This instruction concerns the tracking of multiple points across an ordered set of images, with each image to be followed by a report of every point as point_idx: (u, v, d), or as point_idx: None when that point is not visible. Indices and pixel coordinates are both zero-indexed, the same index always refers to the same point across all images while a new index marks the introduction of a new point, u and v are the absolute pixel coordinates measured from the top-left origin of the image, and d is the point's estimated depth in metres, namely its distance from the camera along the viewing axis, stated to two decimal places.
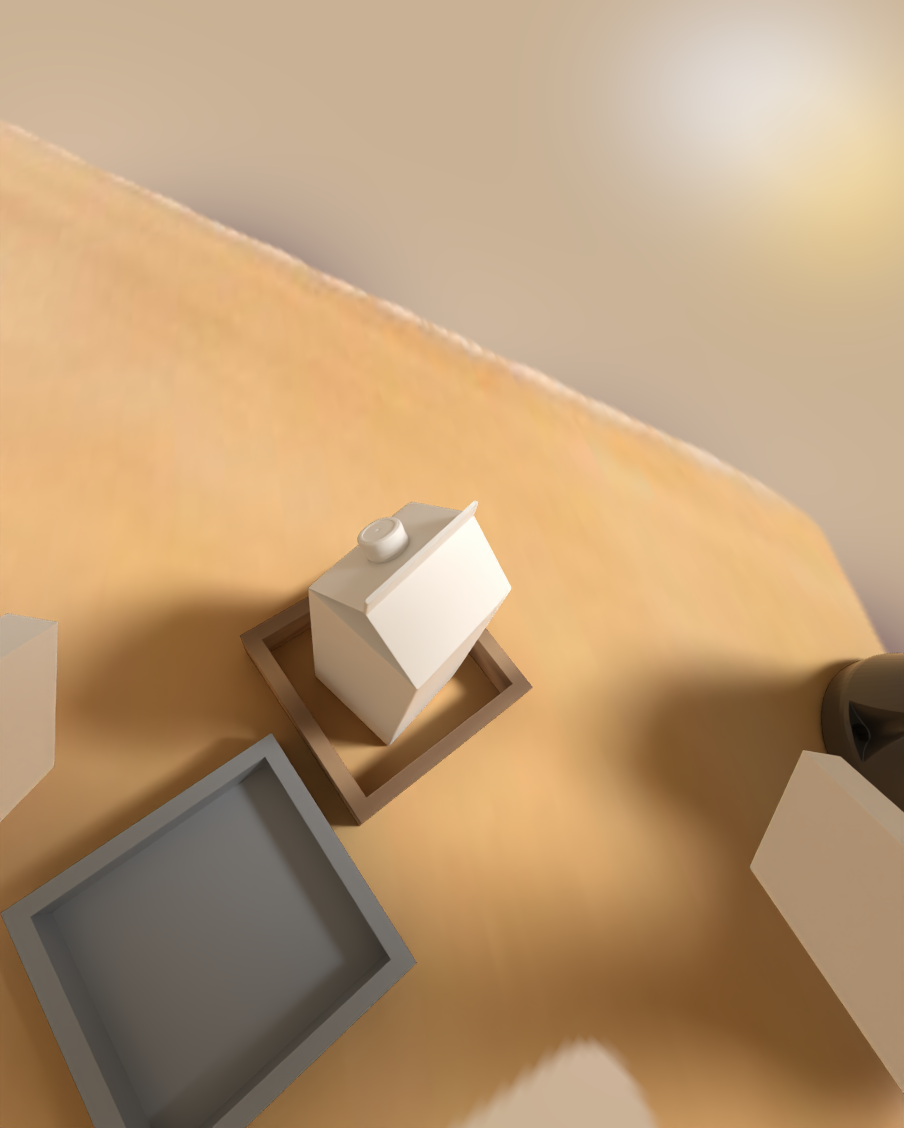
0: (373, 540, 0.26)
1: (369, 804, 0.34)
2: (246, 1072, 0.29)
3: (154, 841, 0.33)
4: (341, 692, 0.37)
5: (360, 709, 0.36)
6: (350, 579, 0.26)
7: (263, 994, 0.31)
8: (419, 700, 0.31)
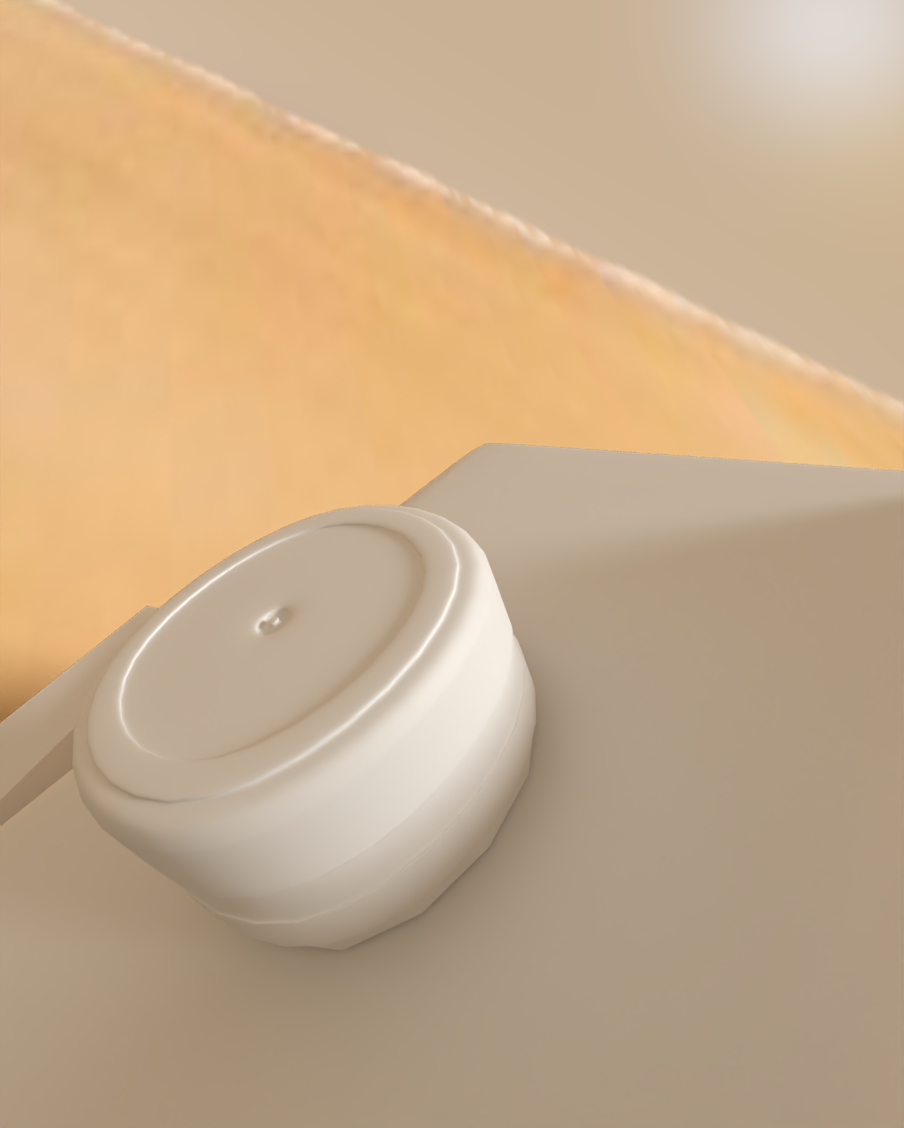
0: (183, 764, 0.02)
1: None
2: None
3: None
4: None
5: None
6: None
7: None
8: None
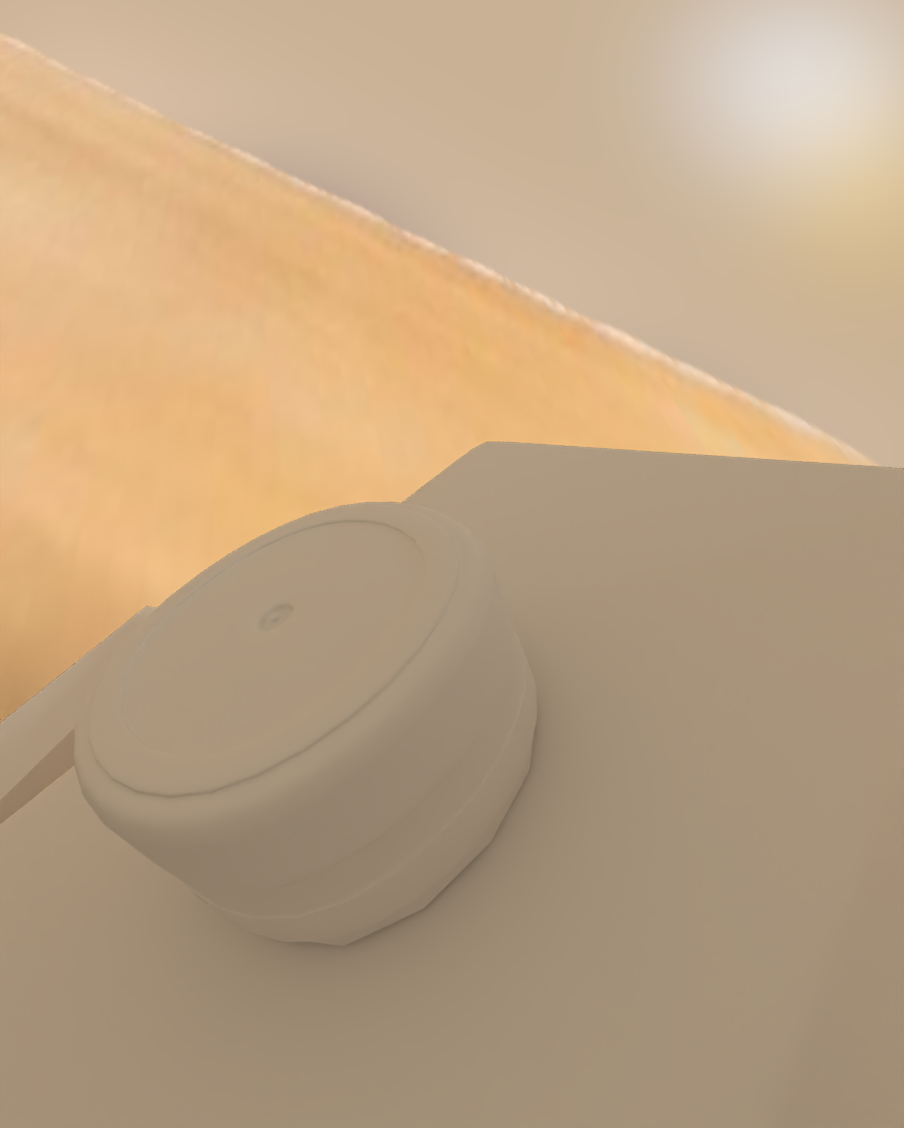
0: (185, 758, 0.02)
1: None
2: None
3: None
4: None
5: None
6: None
7: None
8: None
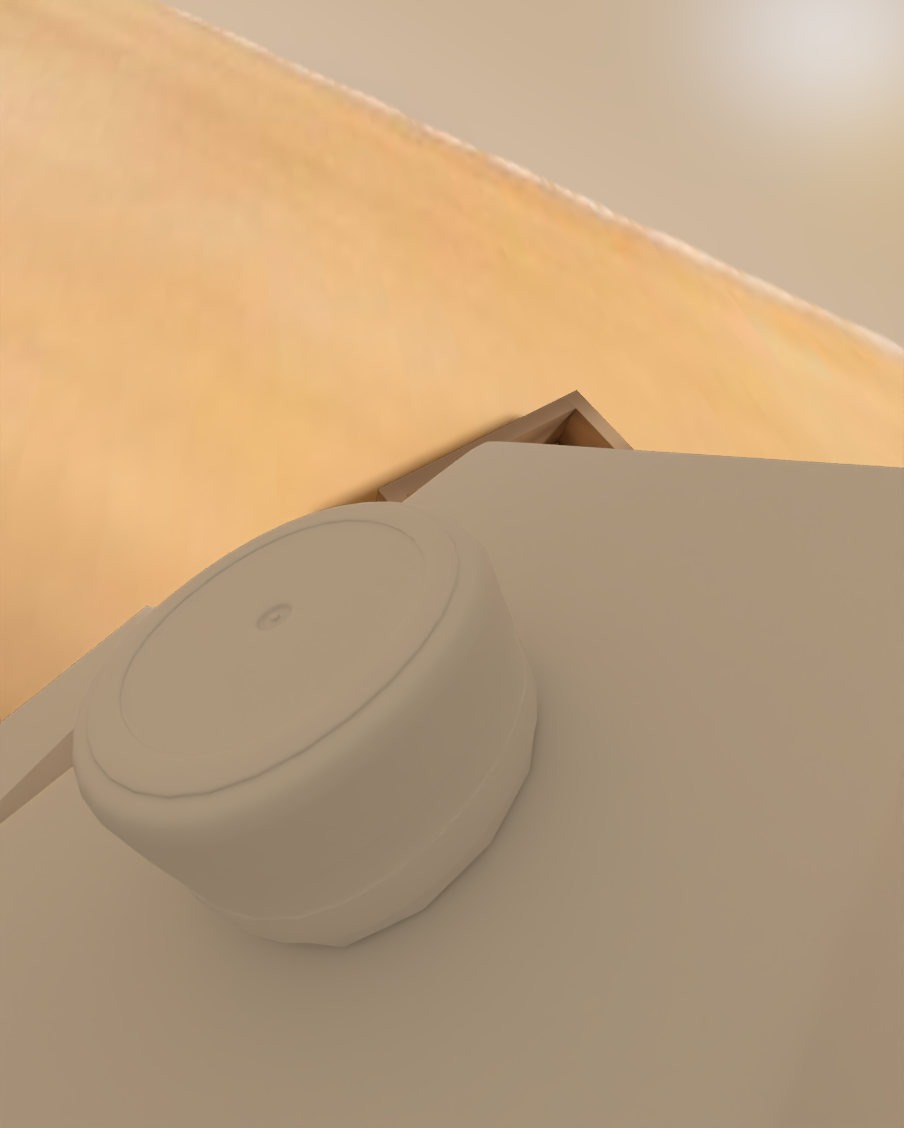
0: (183, 759, 0.02)
1: None
2: None
3: None
4: None
5: None
6: None
7: None
8: None
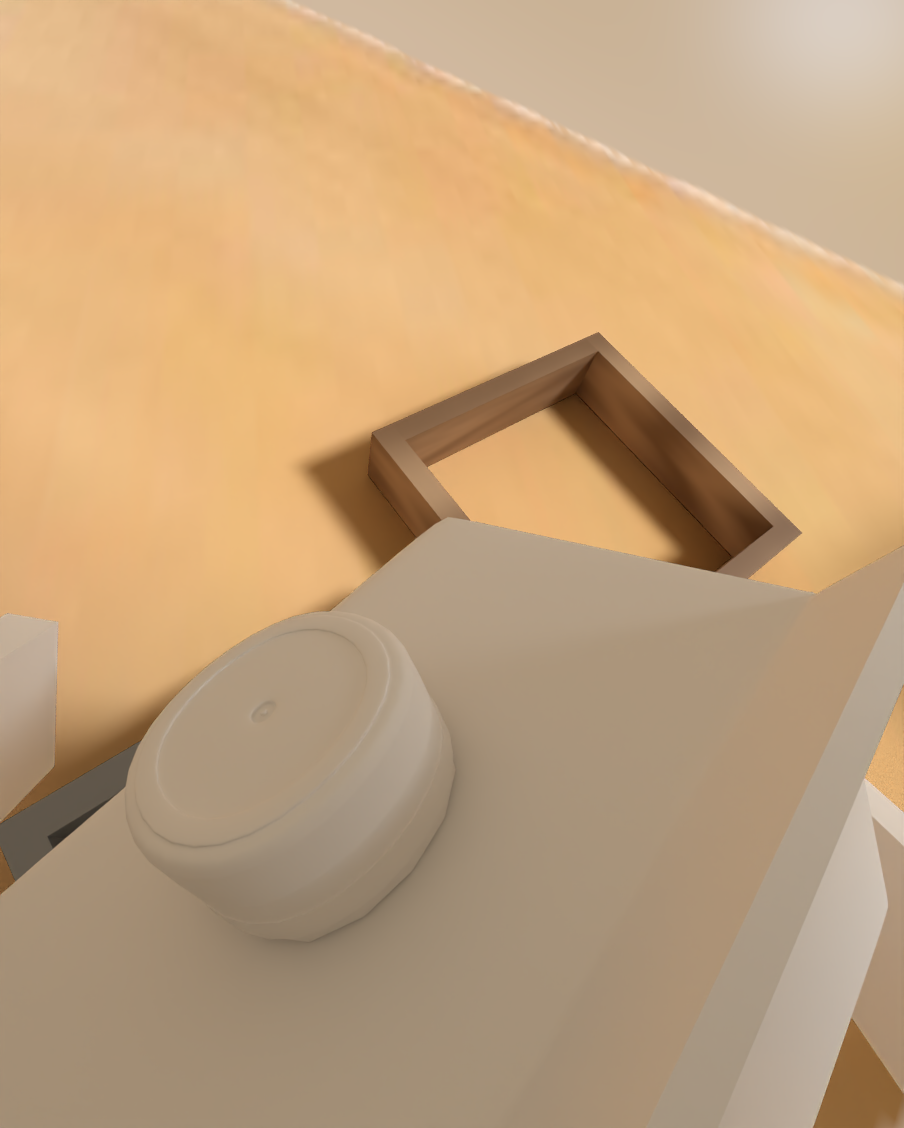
0: (202, 820, 0.03)
1: None
2: None
3: None
4: None
5: None
6: (59, 1058, 0.04)
7: None
8: None
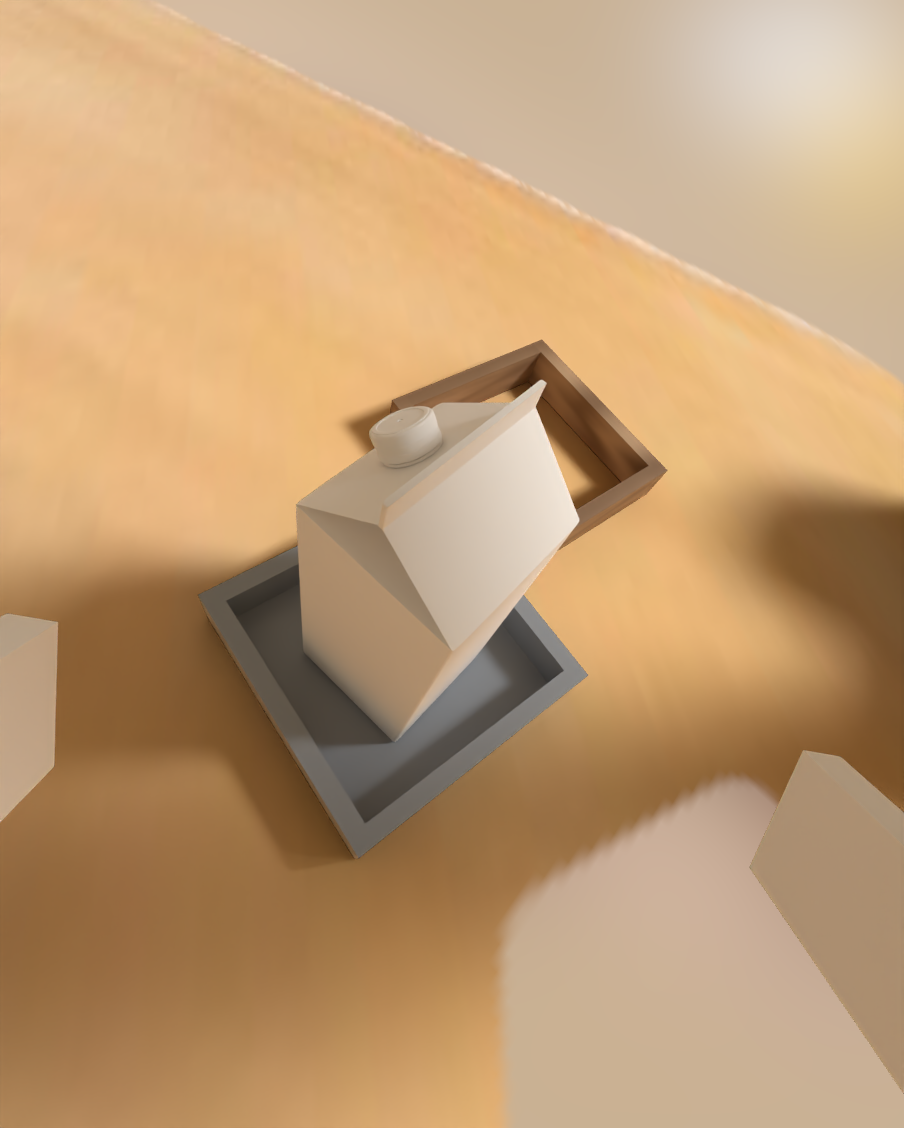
0: (393, 431, 0.17)
1: None
2: (428, 766, 0.30)
3: None
4: (336, 671, 0.29)
5: (360, 693, 0.28)
6: (358, 489, 0.18)
7: (437, 704, 0.32)
8: (444, 676, 0.23)
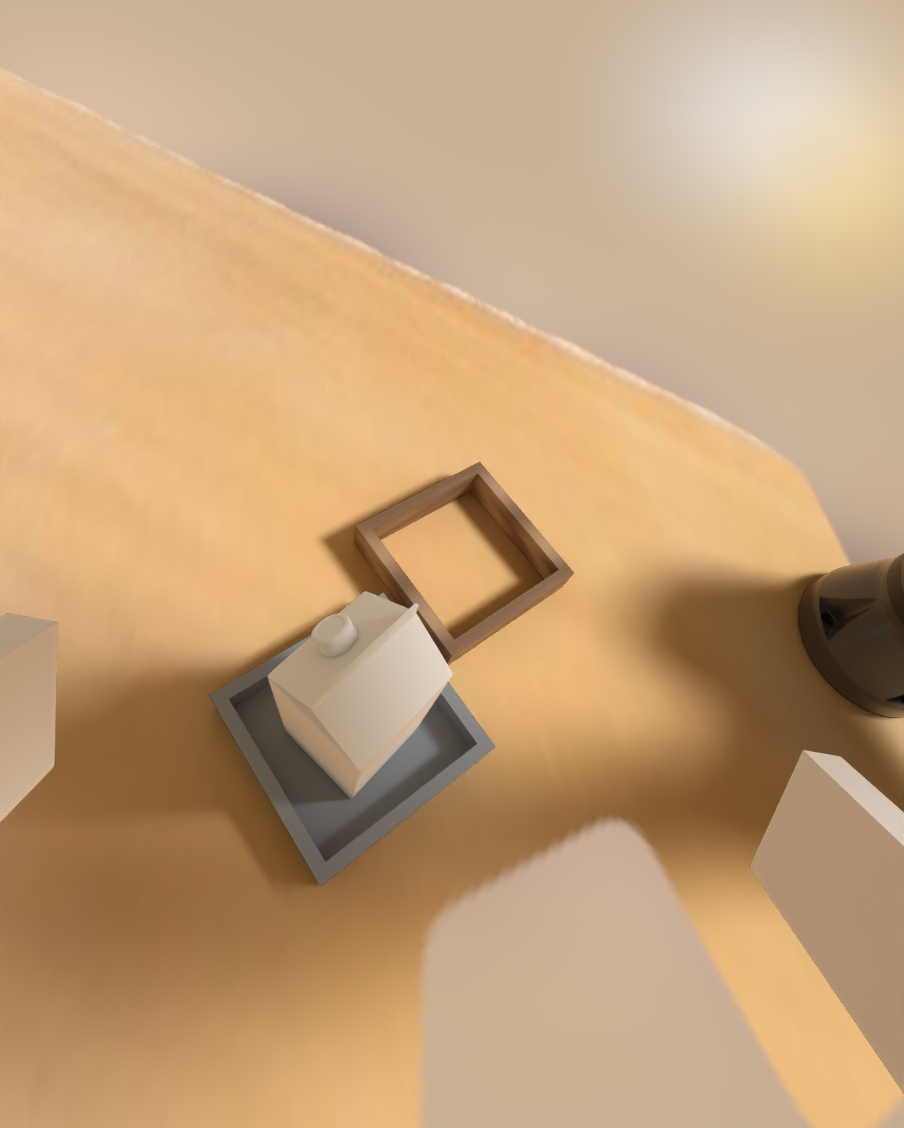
0: (324, 638, 0.29)
1: (456, 644, 0.46)
2: (376, 815, 0.42)
3: None
4: (307, 750, 0.40)
5: (324, 767, 0.40)
6: (303, 671, 0.29)
7: (384, 768, 0.43)
8: (371, 769, 0.34)
